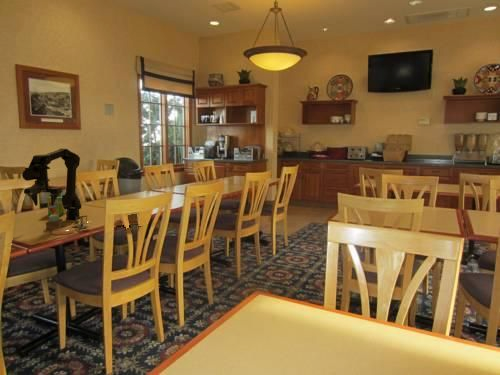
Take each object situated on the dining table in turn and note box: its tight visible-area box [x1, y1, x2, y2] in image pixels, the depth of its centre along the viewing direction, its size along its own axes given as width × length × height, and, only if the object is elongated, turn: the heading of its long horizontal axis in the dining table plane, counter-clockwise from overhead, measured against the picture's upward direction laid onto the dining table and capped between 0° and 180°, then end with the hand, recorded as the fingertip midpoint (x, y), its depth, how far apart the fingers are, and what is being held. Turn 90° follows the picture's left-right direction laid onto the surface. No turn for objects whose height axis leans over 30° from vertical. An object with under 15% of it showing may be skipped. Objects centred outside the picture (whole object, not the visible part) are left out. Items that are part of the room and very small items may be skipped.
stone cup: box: [114, 214, 139, 227], centre depth 215 cm, size 15×12×15 cm
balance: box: [71, 215, 92, 230], centre depth 209 cm, size 15×5×8 cm, turn 55°
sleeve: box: [45, 218, 64, 230], centre depth 209 cm, size 7×7×4 cm
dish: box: [51, 227, 76, 236], centre depth 200 cm, size 11×11×1 cm
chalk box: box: [47, 193, 67, 217], centre depth 241 cm, size 9×9×15 cm
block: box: [48, 215, 60, 222], centre depth 209 cm, size 4×4×7 cm
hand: (44, 205), depth 207 cm, fingers open, 9 cm apart
